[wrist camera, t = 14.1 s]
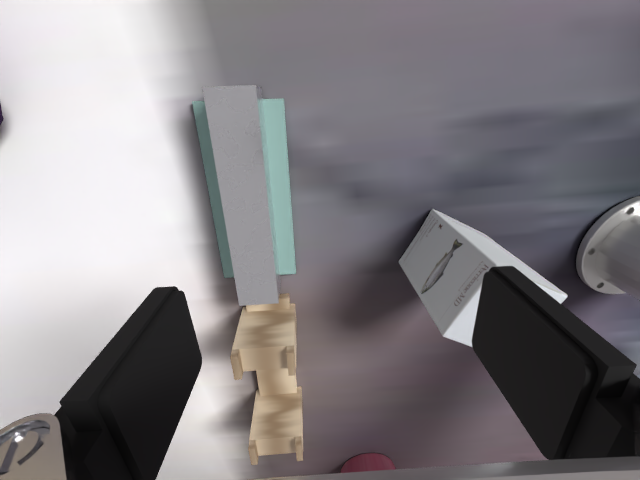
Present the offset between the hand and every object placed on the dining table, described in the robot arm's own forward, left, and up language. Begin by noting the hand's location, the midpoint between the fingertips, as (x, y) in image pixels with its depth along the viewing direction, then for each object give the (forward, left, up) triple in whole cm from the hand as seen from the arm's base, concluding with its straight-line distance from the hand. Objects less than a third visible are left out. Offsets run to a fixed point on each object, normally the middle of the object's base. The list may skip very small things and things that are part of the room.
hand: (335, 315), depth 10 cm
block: (+6, +3, -23) cm, 23 cm away
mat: (+6, +3, -23) cm, 24 cm away
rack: (+6, +25, -23) cm, 34 cm away
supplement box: (-14, +10, -24) cm, 29 cm away
